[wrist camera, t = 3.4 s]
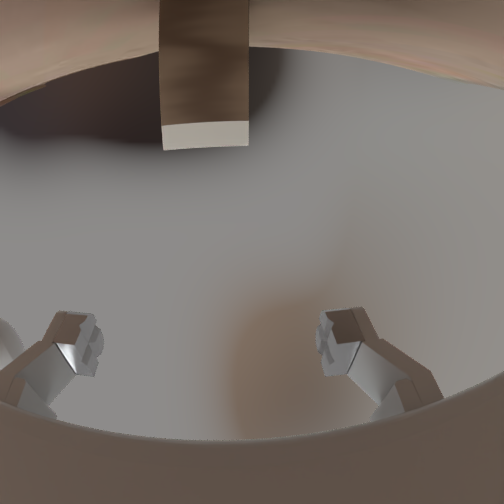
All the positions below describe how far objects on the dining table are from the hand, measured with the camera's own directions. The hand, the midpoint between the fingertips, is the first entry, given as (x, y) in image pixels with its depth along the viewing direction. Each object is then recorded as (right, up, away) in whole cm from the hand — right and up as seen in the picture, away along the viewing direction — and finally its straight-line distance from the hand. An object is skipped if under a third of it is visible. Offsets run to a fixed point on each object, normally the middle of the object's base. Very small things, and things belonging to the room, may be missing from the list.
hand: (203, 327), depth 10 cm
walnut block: (-1, +18, +3) cm, 19 cm away
